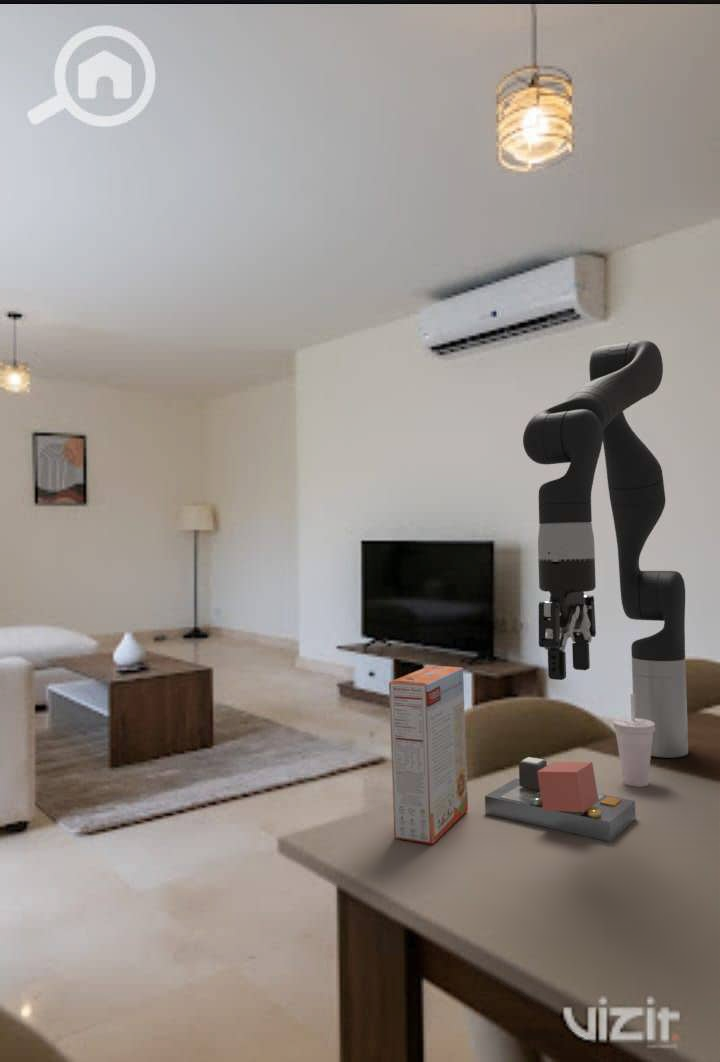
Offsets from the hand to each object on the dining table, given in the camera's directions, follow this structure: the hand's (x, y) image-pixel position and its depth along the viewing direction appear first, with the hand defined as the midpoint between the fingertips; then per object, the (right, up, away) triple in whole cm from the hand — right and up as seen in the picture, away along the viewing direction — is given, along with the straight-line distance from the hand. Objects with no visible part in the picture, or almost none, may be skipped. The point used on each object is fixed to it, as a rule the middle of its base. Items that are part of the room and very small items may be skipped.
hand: (569, 674), depth 102 cm
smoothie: (+15, -21, +17) cm, 31 cm away
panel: (-1, -21, +3) cm, 21 cm away
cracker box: (-19, -21, 0) cm, 28 cm away
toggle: (-3, -18, +8) cm, 20 cm away
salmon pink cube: (0, -18, -1) cm, 18 cm away
